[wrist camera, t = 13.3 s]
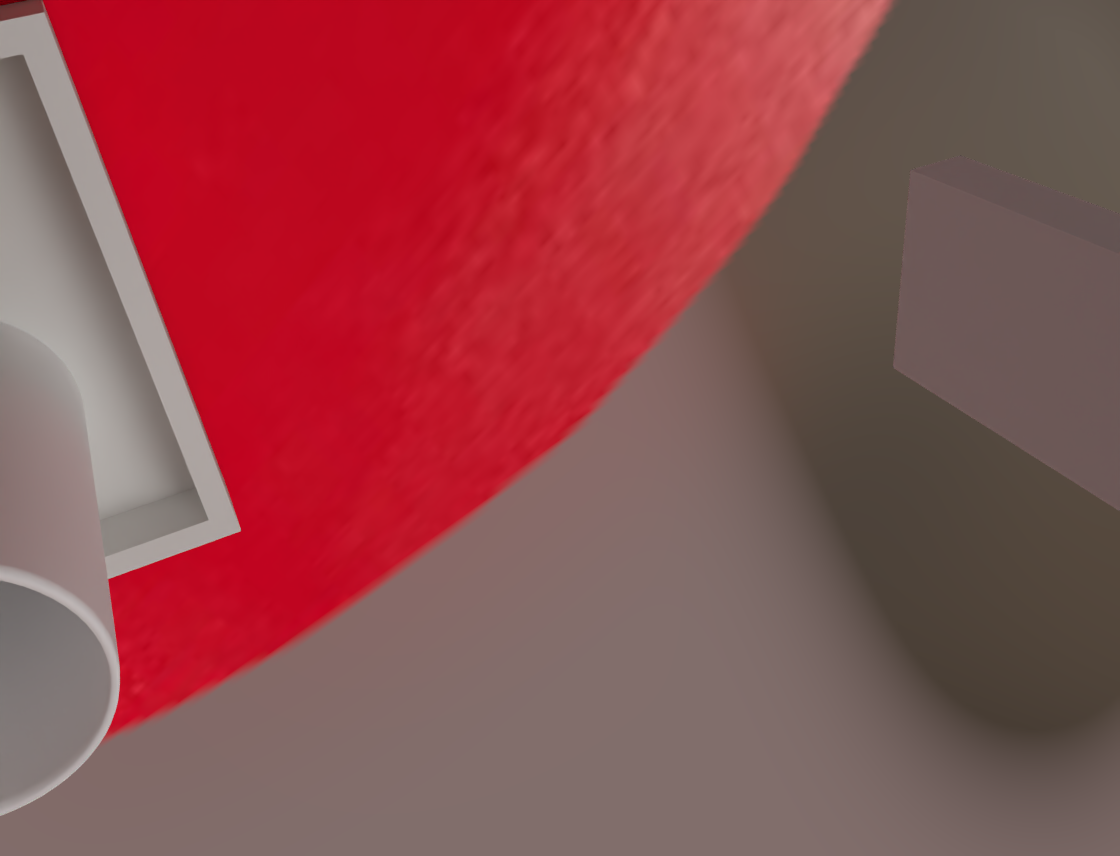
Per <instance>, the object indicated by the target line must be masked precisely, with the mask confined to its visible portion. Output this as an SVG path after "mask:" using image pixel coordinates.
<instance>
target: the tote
mask: <svg viewBox="0 0 1120 856" xmlns="http://www.w3.org/2000/svg"><path fill="white" fill-rule="evenodd" d="M0 322H2V323H5V324H8V325H11V326H13V327H15V328H18V329H20V330H22V331H24V332H26V333H28V334H30V335H31V336H33V337H35V338H36V339H38V340H39V341H41V342H42V343H43V344H45V345H46V346H47V347H49V348H50V349H51V350H52V351H53V352H54V353H55V354H56V355H57V356H58V357H59V358H60V359H61V360H62V361H63V362H64V364H65V365H66V366H67V368H68V369H69V371H70V372H71V373H72V375H73V377H74V379H75V381H76V383H77V385H78V388H79V390H80V393H81V396H82V400H83V405H84V411H85V419H86V426H87V433H88V440H89V447H90V455H91V462H92V469H93V476H94V483H95V491H96V498H97V505H98V512H99V520H100V527H101V534H102V541H103V548H104V556H105V563H106V570H107V577H108V579H109V578H112V577H115V576H118V575H120V574H123V573H126V572H129V571H131V570H134V569H137V568H140V567H142V566H145V565H148V564H151V563H154V562H156V561H159V560H162V559H165V558H167V557H170V556H173V555H176V554H178V553H181V552H184V551H187V550H190V549H192V548H195V547H198V546H201V545H203V544H206V543H209V542H212V541H214V540H217V539H220V538H223V537H225V536H228V535H231V534H234V533H237V532H239V531H241V528H240V525H239V522H238V519H237V516H236V513H235V510H234V507H233V504H232V501H231V498H230V495H229V492H228V490H227V487H226V484H225V481H224V479H223V476H222V473H221V471H220V468H219V466H218V463H217V460H216V458H215V455H214V452H213V450H212V447H211V444H210V442H209V439H208V436H207V434H206V431H205V429H204V426H203V423H202V421H201V418H200V415H199V413H198V410H197V407H196V405H195V402H194V400H193V397H192V394H191V392H190V389H189V386H188V384H187V381H186V378H185V376H184V373H183V370H182V368H181V365H180V363H179V360H178V357H177V355H176V352H175V349H174V347H173V344H172V341H171V339H170V336H169V333H168V331H167V328H166V326H165V323H164V320H163V318H162V315H161V312H160V310H159V307H158V304H157V302H156V299H155V297H154V294H153V291H152V289H151V286H150V283H149V281H148V278H147V275H146V273H145V270H144V267H143V265H142V262H141V260H140V257H139V254H138V252H137V249H136V246H135V244H134V241H133V238H132V236H131V233H130V231H129V228H128V225H127V223H126V220H125V217H124V215H123V212H122V209H121V207H120V204H119V201H118V199H117V196H116V194H115V191H114V188H113V186H112V183H111V180H110V178H109V175H108V172H107V170H106V167H105V164H104V162H103V159H102V157H101V154H100V151H99V149H98V146H97V143H96V141H95V138H94V135H93V133H92V130H91V128H90V125H89V122H88V120H87V117H86V114H85V112H84V109H83V106H82V104H81V101H80V98H79V96H78V93H77V91H76V88H75V85H74V83H73V80H72V77H71V75H70V72H69V69H68V67H67V64H66V62H65V59H64V56H63V54H62V51H61V48H60V46H59V43H58V40H57V38H56V35H55V32H54V30H53V27H52V25H51V22H50V19H49V17H48V14H47V11H46V9H45V6H44V3H43V1H42V0H27V1H22V2H17V3H12V4H7V5H2V6H0Z"/></svg>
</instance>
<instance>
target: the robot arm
mask: <svg viewBox="0 0 1120 856" xmlns="http://www.w3.org/2000/svg"><path fill="white" fill-rule="evenodd" d="M893 368H895V369H896V370H898V371H899V372H901V373H902V374H904V375H905V376H907V377H909V378H910V379H912V380H913V381H915V382H917V383H918V384H920V385H921V386H923V387H924V388H926V389H928V390H929V391H931V392H932V393H934V394H936V395H937V396H939V397H940V398H942V399H943V400H945V401H947V402H948V403H950V404H952V405H953V406H955V407H956V408H958V409H959V410H961V411H962V412H964V413H966V414H967V415H969V416H970V417H972V418H973V419H975V420H977V421H978V422H980V423H981V424H983V425H985V426H986V427H988V428H989V429H991V430H992V431H994V432H996V433H997V434H999V435H1000V436H1002V437H1004V438H1005V439H1007V440H1008V441H1010V442H1012V443H1013V444H1015V445H1016V446H1018V447H1019V448H1021V449H1023V450H1024V451H1026V452H1027V453H1029V454H1030V455H1032V456H1033V457H1035V458H1037V459H1038V460H1040V461H1041V462H1043V463H1045V464H1046V465H1048V466H1049V467H1051V468H1052V469H1054V470H1056V471H1057V472H1059V473H1060V474H1062V475H1064V476H1065V477H1067V478H1068V479H1070V480H1071V481H1073V482H1075V483H1076V484H1078V485H1079V486H1081V487H1082V488H1084V489H1086V490H1087V491H1089V492H1090V493H1092V494H1094V495H1095V496H1097V497H1099V498H1100V499H1101V500H1103V501H1105V502H1106V503H1108V504H1109V505H1111V506H1113V507H1114V508H1116V509H1117V510H1119V511H1120V214H1119V213H1116V212H1113V211H1111V210H1108V209H1105V208H1103V207H1100V206H1097V205H1094V204H1092V203H1089V202H1086V201H1083V200H1081V199H1078V198H1075V197H1073V196H1069V195H1067V194H1064V193H1061V192H1059V191H1056V190H1053V189H1050V188H1048V187H1045V186H1042V185H1040V184H1037V183H1034V182H1032V181H1029V180H1026V179H1023V178H1021V177H1018V176H1015V175H1012V174H1010V173H1007V172H1004V171H1001V170H999V169H996V168H993V167H991V166H988V165H985V164H982V163H980V162H977V161H974V160H972V159H969V158H966V157H963V156H957V157H954V158H950V159H947V160H943V161H940V162H936V163H933V164H930V165H926V166H922V167H919V168H915V169H912V170H911V171H910V182H909V193H908V204H907V216H906V227H905V239H904V250H903V261H902V273H901V285H900V295H899V307H898V318H897V329H896V341H895V352H894V363H893Z"/></svg>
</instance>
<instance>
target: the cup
mask: <svg viewBox="0 0 1120 856" xmlns="http://www.w3.org/2000/svg"><path fill="white" fill-rule="evenodd" d="M119 686H120V666H119V658H118V651H117V643H116V636H115V628H114V621H113V613H112V606H111V599H110V592H109V584H108V577H107V570H106V563H105V556H104V548H103V541H102V534H101V527H100V520H99V512H98V505H97V498H96V491H95V483H94V476H93V469H92V462H91V455H90V447H89V440H88V433H87V426H86V419H85V411H84V405H83V400H82V396H81V393H80V390H79V388H78V385H77V383H76V381H75V379H74V377H73V375H72V373H71V372H70V371H69V369H68V368H67V366H66V365H65V364H64V362H63V361H62V360H61V359H60V358H59V357H58V356H57V355H56V354H55V353H54V352H53V351H52V350H51V349H50V348H49V347H47V346H46V345H45V344H43V343H42V342H41V341H39V340H38V339H36V338H35V337H33V336H31V335H30V334H28V333H26V332H24V331H22V330H20V329H18V328H15V327H13V326H11V325H8V324H5V323H2V322H0V816H1V815H3V814H6V813H8V812H11V811H14V810H16V809H18V808H20V807H22V806H24V805H26V804H29V803H30V802H32V801H34V800H36V799H37V798H39V797H41V796H43V795H44V794H46V793H47V792H49V791H50V790H52V789H54V788H55V787H56V786H58V785H59V784H60V783H62V782H63V781H64V780H66V779H67V778H68V777H69V776H70V775H72V774H73V773H74V772H75V771H76V770H77V769H78V768H79V767H80V766H81V765H82V764H83V763H84V762H85V761H86V760H87V759H88V758H89V757H90V755H91V754H92V753H93V752H94V750H95V749H96V748H97V747H98V745H99V744H100V742H101V740H102V739H103V737H104V736H105V734H106V732H107V730H108V728H109V726H110V724H111V722H112V719H113V716H114V714H115V711H116V706H117V702H118V696H119Z"/></svg>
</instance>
